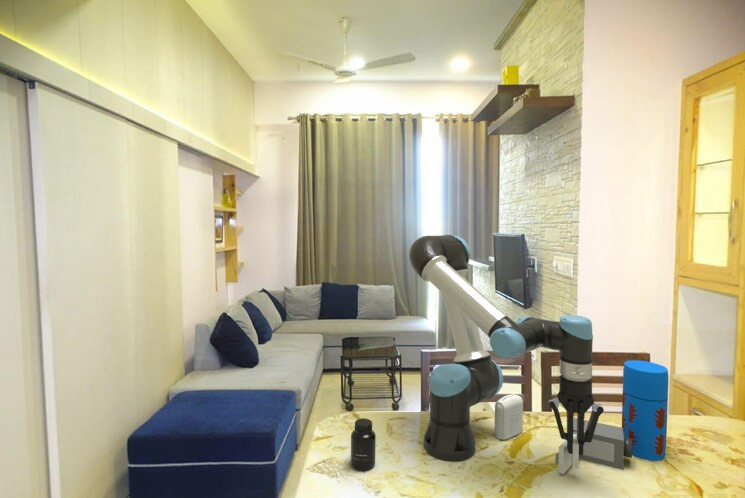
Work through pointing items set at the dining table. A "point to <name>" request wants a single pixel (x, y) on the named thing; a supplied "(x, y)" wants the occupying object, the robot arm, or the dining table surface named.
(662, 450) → the thermos
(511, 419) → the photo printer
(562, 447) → the side door
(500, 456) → the dining table surface
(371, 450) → the supplement bottle
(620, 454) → the camera body
